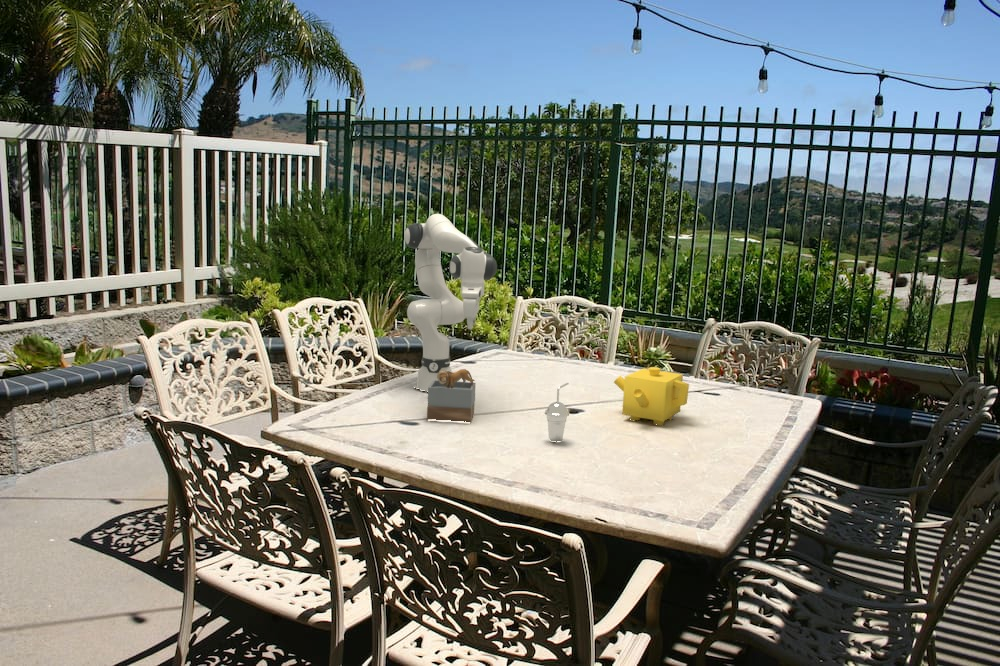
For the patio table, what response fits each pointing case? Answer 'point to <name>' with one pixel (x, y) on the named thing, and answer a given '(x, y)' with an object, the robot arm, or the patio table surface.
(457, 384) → the grey storage bin
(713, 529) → the patio table surface
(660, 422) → the yellow teapot
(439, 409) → the tower bottom
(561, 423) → the cup with straw
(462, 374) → the lion figurine
